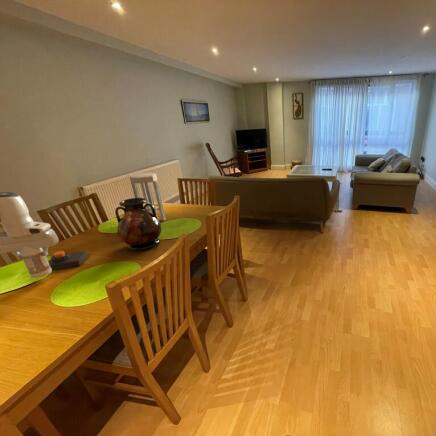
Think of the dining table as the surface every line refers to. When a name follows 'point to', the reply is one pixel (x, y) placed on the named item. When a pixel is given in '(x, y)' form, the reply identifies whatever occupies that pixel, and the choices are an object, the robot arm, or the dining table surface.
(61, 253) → the button
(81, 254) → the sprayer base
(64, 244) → the dining table surface
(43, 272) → the bath foam
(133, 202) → the amphora vase
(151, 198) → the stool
